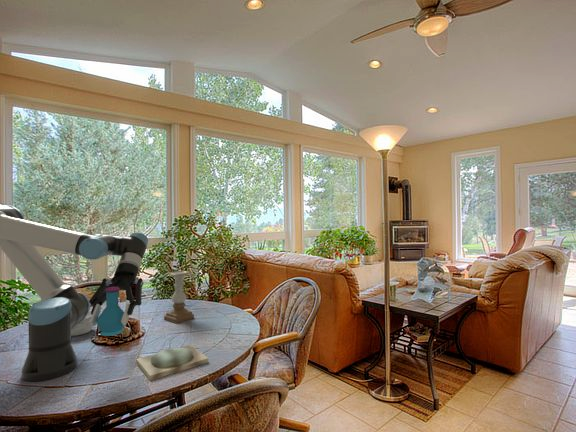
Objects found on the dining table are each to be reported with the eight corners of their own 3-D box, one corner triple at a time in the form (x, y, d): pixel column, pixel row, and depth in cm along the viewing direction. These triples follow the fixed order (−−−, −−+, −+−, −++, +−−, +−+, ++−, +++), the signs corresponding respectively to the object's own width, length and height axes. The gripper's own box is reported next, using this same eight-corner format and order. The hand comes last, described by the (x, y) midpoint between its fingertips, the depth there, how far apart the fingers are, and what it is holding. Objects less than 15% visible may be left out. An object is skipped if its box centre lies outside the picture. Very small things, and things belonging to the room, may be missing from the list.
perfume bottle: (97, 329, 110) (98, 286, 110) (127, 326, 114) (128, 283, 114) (94, 339, 102) (94, 291, 102) (126, 334, 106) (127, 289, 106)
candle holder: (175, 323, 158) (175, 275, 158) (163, 319, 165) (163, 272, 165) (194, 317, 167) (194, 272, 167) (182, 314, 174) (181, 270, 174)
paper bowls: (89, 324, 157) (89, 308, 157) (102, 331, 147) (102, 314, 147) (52, 333, 145) (52, 316, 145) (63, 341, 136) (63, 322, 136)
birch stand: (150, 380, 102) (150, 372, 102) (136, 363, 115) (136, 356, 115) (208, 362, 115) (208, 355, 115) (190, 348, 127) (190, 342, 127)
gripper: (160, 273, 124) (145, 328, 108) (101, 273, 123) (77, 329, 107) (156, 261, 119) (139, 317, 103) (94, 261, 117) (67, 318, 101)
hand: (107, 323), depth 105 cm, fingers closed on perfume bottle, 9 cm apart
